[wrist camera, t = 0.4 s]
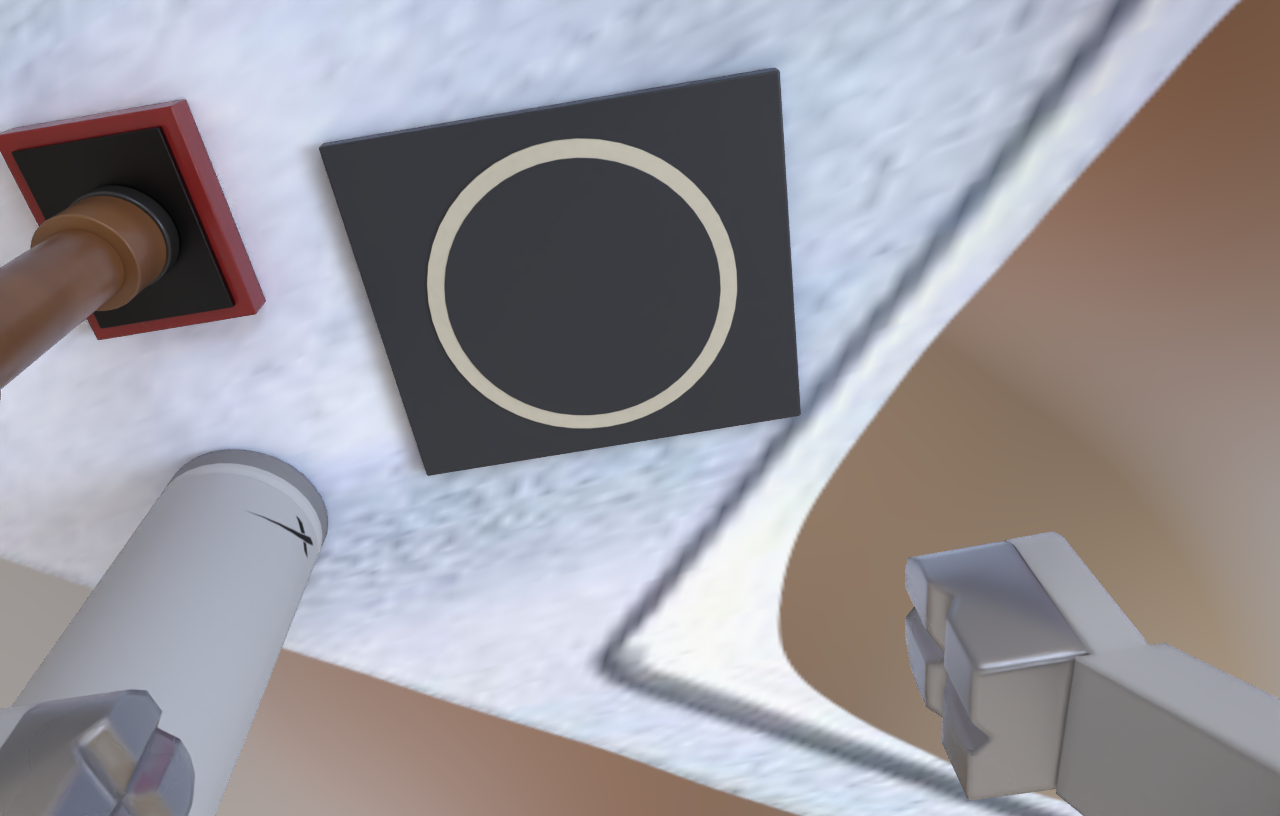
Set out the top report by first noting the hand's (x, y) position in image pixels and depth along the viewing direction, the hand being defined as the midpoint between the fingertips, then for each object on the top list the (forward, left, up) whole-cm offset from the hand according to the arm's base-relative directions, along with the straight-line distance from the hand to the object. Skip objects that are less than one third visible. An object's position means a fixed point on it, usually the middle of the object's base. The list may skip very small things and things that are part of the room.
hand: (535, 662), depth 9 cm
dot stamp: (0, -14, -21) cm, 25 cm away
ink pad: (0, -14, -23) cm, 27 cm away
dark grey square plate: (+5, 0, -23) cm, 23 cm away
